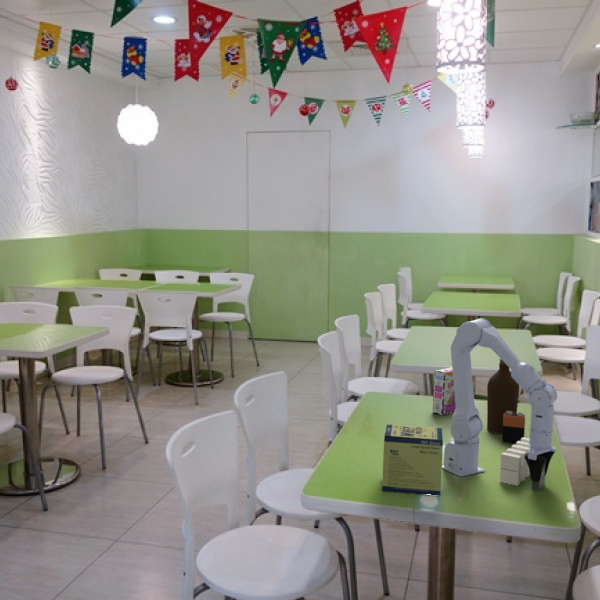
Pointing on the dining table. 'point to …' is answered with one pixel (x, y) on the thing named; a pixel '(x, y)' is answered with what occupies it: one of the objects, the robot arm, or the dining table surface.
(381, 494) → the dining table surface
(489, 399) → the olive oil
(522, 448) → the domino
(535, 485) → the domino
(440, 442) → the protein box
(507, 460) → the domino
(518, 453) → the domino
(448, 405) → the candy bar box
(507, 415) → the battery
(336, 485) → the dining table surface
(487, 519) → the dining table surface
